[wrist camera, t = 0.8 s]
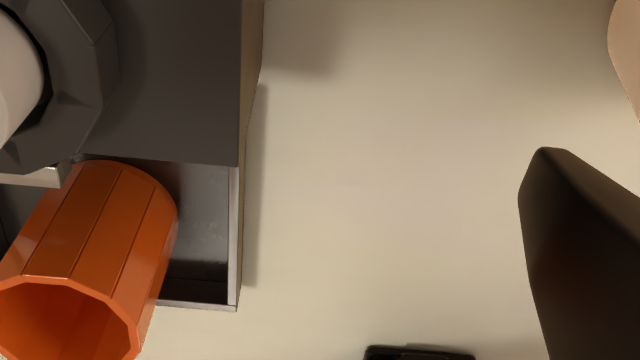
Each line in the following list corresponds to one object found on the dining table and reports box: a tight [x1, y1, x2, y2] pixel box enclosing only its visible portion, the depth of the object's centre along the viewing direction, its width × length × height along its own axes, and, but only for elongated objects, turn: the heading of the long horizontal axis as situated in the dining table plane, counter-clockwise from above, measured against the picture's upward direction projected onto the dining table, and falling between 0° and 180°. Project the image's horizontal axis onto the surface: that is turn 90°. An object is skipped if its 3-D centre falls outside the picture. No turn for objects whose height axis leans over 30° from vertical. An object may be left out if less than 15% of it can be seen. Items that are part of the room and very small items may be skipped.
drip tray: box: [0, 136, 246, 312], centre depth 26 cm, size 12×12×2 cm
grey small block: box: [0, 158, 72, 189], centre depth 18 cm, size 1×3×2 cm, turn 84°
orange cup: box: [0, 159, 179, 360], centre depth 25 cm, size 6×6×7 cm
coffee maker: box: [0, 0, 264, 175], centre depth 18 cm, size 7×13×8 cm, turn 84°
